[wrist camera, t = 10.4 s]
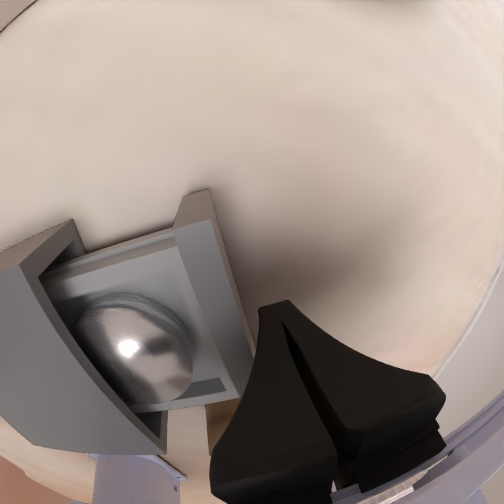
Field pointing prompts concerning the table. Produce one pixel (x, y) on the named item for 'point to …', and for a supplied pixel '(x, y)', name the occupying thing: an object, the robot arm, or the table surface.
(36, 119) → the table surface
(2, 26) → the medicine bottle
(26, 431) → the disc
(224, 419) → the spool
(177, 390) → the disc
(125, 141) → the table surface
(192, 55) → the table surface
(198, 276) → the tray
